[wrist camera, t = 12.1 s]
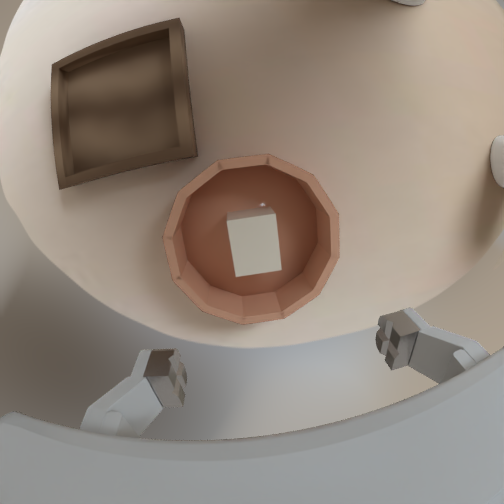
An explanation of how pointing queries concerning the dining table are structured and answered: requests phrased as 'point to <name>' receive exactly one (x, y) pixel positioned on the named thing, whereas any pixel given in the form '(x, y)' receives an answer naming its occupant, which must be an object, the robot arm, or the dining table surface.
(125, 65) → the walnut tray
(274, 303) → the terracotta bowl
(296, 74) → the dining table surface
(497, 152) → the candle holder
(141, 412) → the robot arm
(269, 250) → the off-white cube block
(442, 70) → the dining table surface
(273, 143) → the dining table surface
